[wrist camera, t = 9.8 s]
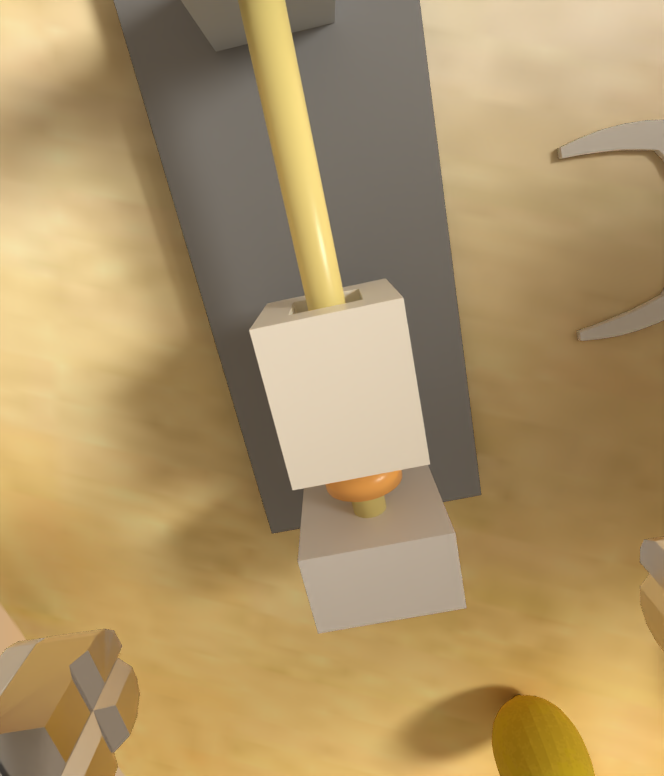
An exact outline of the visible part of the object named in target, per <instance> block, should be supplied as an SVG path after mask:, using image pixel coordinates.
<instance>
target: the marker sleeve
mask: <svg viewBox="0 0 664 776" xmlns="http://www.w3.org/2000/svg"><path fill="white" fill-rule="evenodd" d="M343 292H344V297H345V302H346V303H344V304H339V305H334V306H329V307H325V308H320V309H315V310H311V311H308V307H307V303H306V298H305V296H300V297H295V298H291V299H286V300H281V301H277V302H272V303H267V304H266V306H265V307H264V309H263V310H262V312H261V313H260V315H259V316H258V318H257V319H256V321H255V322H254V324H253V325H252V327H251V328H250V329H249V332H250V335H251V339H252V343H253V346H254V350H255V354H256V357H257V361H258V365H259V369H260V372H261V376H262V380H263V383H264V387H265V391H266V394H267V398H268V402H269V405H270V409H271V413H272V417H273V420H274V424H275V428H276V431H277V435H278V439H279V442H280V446H281V450H282V453H283V457H284V461H285V464H286V468H287V472H288V476H289V479H290V483H291V487H292V490H297V489H303V488H308V487H313V486H319V485H324V484H329V483H334V482H340V481H345V480H350V479H356V478H361V477H366V476H371V475H377V474H382V473H387V472H393V471H398V470H403V469H408V468H414V467H419V466H424V465H430V460H429V453H428V447H427V441H426V435H425V429H424V422H423V416H422V410H421V404H420V397H419V391H418V385H417V379H416V373H415V366H414V360H413V354H412V348H411V341H410V335H409V329H408V323H407V317H406V310H405V304H404V298H403V297H402V296H401V294H400V293H399V292H398V291H397V290H396V289H395V288H394V287H393V286H392V285H391V284H390V283H389V281H388V280H387V279H386V278H385V279H380V280H375V281H370V282H366V283H361V284H356V285H352V286H347V287H343Z"/></svg>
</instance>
